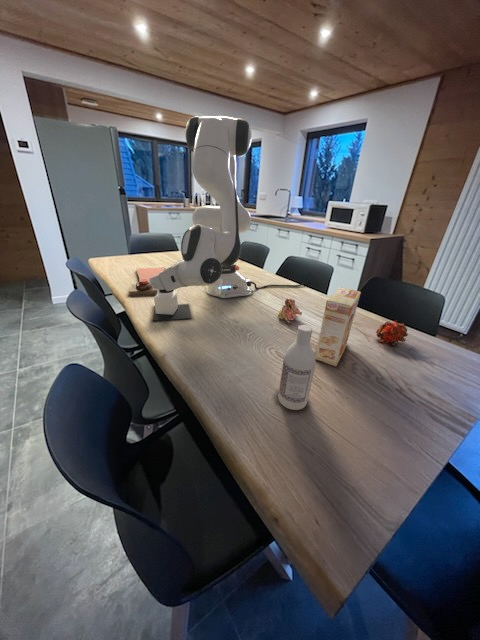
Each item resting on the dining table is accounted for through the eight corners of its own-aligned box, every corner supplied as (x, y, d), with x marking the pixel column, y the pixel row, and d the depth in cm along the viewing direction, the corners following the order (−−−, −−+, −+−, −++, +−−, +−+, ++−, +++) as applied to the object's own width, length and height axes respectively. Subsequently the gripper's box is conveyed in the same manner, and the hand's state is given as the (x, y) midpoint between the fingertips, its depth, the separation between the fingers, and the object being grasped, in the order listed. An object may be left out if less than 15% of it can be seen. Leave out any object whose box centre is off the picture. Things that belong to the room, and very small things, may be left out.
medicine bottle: (178, 308, 109) (176, 280, 104) (173, 315, 103) (171, 285, 98) (161, 306, 110) (158, 279, 104) (155, 314, 103) (152, 284, 98)
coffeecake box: (336, 367, 78) (352, 306, 69) (313, 358, 81) (325, 299, 72) (347, 345, 89) (362, 291, 81) (326, 339, 93) (338, 286, 84)
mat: (188, 305, 114) (188, 304, 114) (191, 319, 102) (191, 318, 101) (154, 306, 110) (154, 305, 110) (153, 321, 98) (152, 320, 98)
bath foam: (287, 387, 69) (298, 317, 60) (311, 400, 65) (327, 328, 56) (272, 400, 64) (282, 327, 55) (297, 415, 60) (313, 339, 51)
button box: (157, 287, 131) (157, 280, 130) (157, 294, 123) (156, 286, 121) (132, 288, 128) (131, 280, 127) (129, 296, 120) (128, 287, 118)
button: (148, 283, 126) (147, 278, 125) (147, 285, 123) (147, 281, 122) (139, 283, 125) (139, 279, 124) (138, 286, 122) (138, 281, 121)
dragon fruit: (402, 344, 95) (375, 353, 92) (390, 324, 98) (363, 331, 96) (419, 335, 88) (390, 344, 85) (405, 313, 91) (377, 321, 88)
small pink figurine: (276, 324, 102) (271, 302, 105) (287, 328, 110) (282, 307, 113) (298, 317, 97) (292, 294, 100) (308, 322, 105) (302, 300, 108)
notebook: (174, 283, 139) (174, 279, 138) (141, 286, 132) (140, 282, 131) (165, 269, 161) (165, 266, 160) (136, 271, 154) (136, 268, 153)
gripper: (209, 253, 91) (191, 256, 102) (155, 274, 80) (141, 275, 91) (215, 270, 93) (197, 271, 104) (163, 293, 83) (149, 292, 94)
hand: (170, 273), depth 97 cm, fingers open, 8 cm apart
